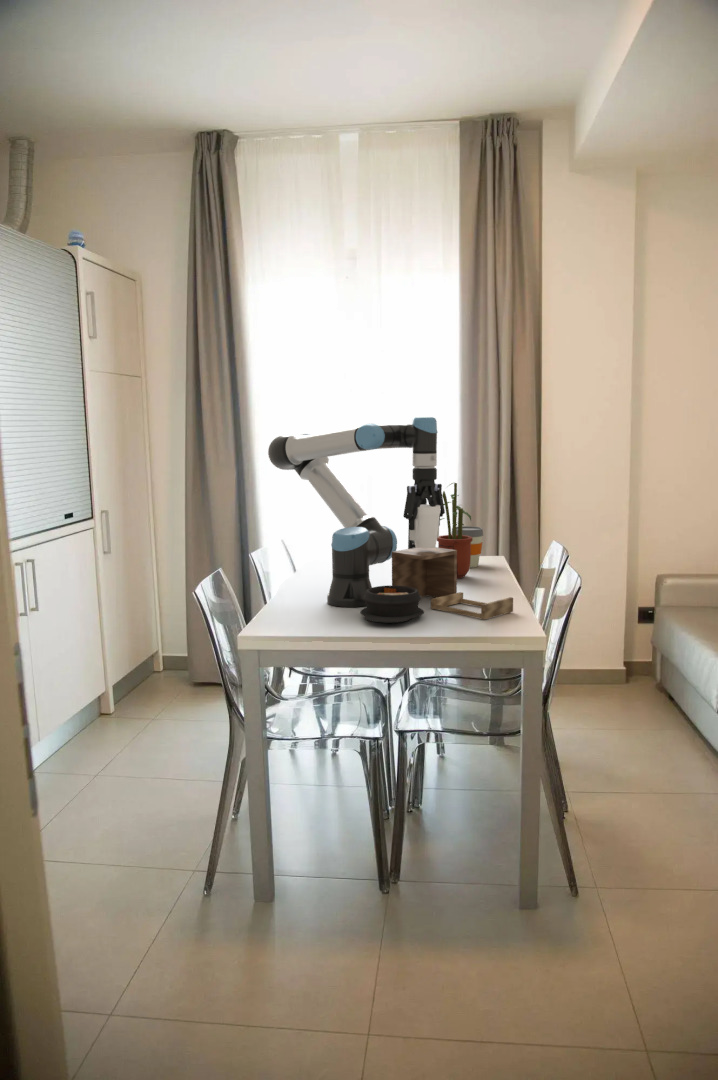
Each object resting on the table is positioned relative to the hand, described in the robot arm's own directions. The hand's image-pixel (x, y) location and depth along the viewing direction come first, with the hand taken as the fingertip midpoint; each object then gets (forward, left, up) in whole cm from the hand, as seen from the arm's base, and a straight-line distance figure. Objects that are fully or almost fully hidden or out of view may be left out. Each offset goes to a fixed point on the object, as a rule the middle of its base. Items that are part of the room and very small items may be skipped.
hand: (424, 538), depth 256 cm
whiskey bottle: (+56, +52, -20) cm, 79 cm away
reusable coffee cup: (+61, +32, -20) cm, 72 cm away
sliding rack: (0, -19, -20) cm, 28 cm away
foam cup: (0, 0, -3) cm, 3 cm away
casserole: (-23, -8, -21) cm, 32 cm away
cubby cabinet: (+1, 0, -20) cm, 20 cm away
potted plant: (+39, +22, -20) cm, 49 cm away
